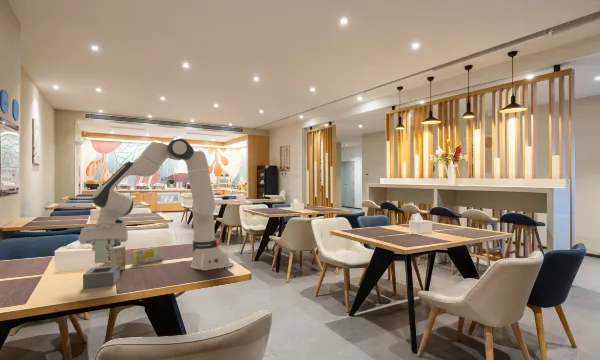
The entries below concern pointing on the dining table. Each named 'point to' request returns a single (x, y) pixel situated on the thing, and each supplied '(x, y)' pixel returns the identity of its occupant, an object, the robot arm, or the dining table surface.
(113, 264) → the skincare box
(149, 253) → the candy box
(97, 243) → the sage post
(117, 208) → the robot arm
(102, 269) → the block
